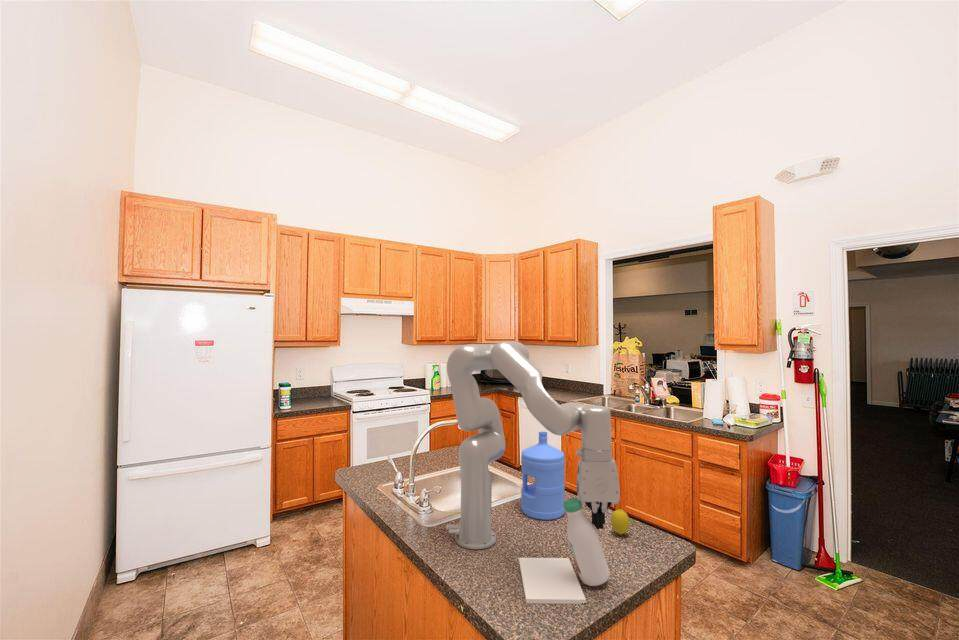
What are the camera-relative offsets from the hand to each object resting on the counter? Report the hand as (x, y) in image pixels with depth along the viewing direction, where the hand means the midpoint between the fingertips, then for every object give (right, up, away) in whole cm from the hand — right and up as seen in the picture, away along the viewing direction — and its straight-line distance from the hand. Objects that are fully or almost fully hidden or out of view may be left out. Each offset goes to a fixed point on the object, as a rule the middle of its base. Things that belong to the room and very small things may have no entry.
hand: (598, 526), depth 105 cm
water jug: (-8, -16, +42) cm, 45 cm away
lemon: (+14, -15, +25) cm, 33 cm away
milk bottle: (-1, -13, 0) cm, 13 cm away
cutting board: (-13, -14, 0) cm, 19 cm away
